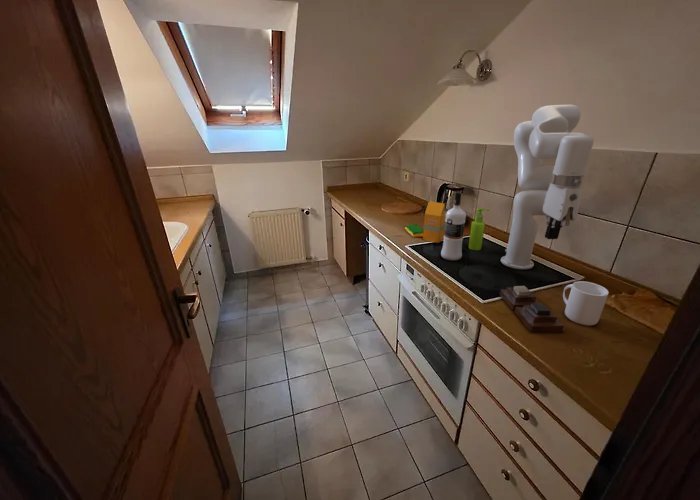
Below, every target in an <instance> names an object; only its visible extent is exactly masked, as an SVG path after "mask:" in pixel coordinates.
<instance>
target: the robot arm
mask: <svg viewBox="0 0 700 500" xmlns="http://www.w3.org/2000/svg"><path fill="white" fill-rule="evenodd" d="M580 120H581V110H580V107H579V106H577V105H575V104H549V105H544V106H541V107H539V108H537V109H536V110H535V111H534V112H533V114H532V116H531V120H525V121H523V122H520V123H518V124H517V126H515V129H514V131H513V132H514V133H513V147H514V150H515V153H516V157H517V184H518V187H519V188H520V189H522V190H523V191H519V192H517V193H516V194H515V195H514V198H513V201H512V202H513V203H512V204H513V205H512V206H513V207H512V209H513V210H512V219H511V226H510V230H509V237H508V240H507V241H508V242H507V247H506V248H505V249H504V252H505V255H503V256H502V257H501V258H500V262H501V264H503V265H504V266H505V267H507V268H511V269H515V270H530V269H533V267H534V266H535V263H534V261H533V260H532V255H533V251H534V248H535V247H534V246H535V242H536V239H537V234H538V228H539V225H538V222H537V221H536V220H535V218H534V216H545V217H546V219H547V220H546V225H547V226H546V230H545V233H544V238H545V239H547V240H558V239H559V237H560V231H561V229H562V228H563V227H567V226H570V224H571V223H570V221H576V220H577V217H578V214H579V211H580V206H581V201H582V192H583V191H582V189H583V188H582V183H583V180H584V176H585V173H586V170H587V167H588V164H589V163H588V162H589V161H590V155H591V153H592V149H593V145H594V142H595V141H594V138H593V136H591V135H587V134H586V133H584V132H579V131H578V132H572V131H574V129H575V128H576V127H577V126H578V124H579V122H580ZM551 159H552V160H553V159H555V163H554V165H544V164H543V160H551Z"/></svg>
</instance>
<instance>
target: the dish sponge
mask: <svg viewBox="0 0 700 500" xmlns="http://www.w3.org/2000/svg"><path fill="white" fill-rule="evenodd" d="M404 227H405V228H404V230H405V231H406V232H407V233H408V234H410V236H412V237H413V238H415V237H416V238H418V237H423V232H424V228H422V227H421V226H420V225H418V224H406V225H405V226H404Z"/></svg>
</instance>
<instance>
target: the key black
mask: <svg viewBox="0 0 700 500" xmlns="http://www.w3.org/2000/svg"><path fill="white" fill-rule="evenodd" d="M530 309H531V310H532V311H533V312H534V313H535V314H536V315H549V314H550V311H551V310H550V308H549V307H547V305H545V304H544V303H541V304H531V308H530Z"/></svg>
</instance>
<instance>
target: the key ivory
mask: <svg viewBox="0 0 700 500" xmlns="http://www.w3.org/2000/svg"><path fill="white" fill-rule="evenodd" d="M513 287H514V289H513V291H514V292H515V293H516V294H517V295H529V294H530V292H531V291H530V289H528V287H526V286H525V285H514V286H513Z"/></svg>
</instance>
